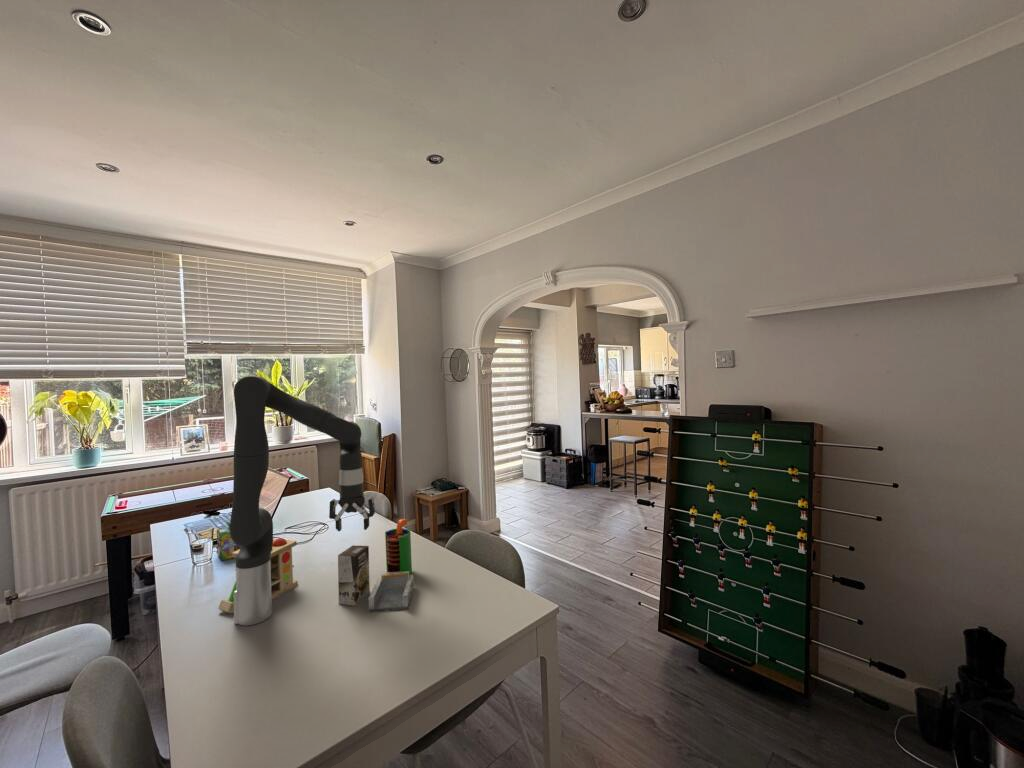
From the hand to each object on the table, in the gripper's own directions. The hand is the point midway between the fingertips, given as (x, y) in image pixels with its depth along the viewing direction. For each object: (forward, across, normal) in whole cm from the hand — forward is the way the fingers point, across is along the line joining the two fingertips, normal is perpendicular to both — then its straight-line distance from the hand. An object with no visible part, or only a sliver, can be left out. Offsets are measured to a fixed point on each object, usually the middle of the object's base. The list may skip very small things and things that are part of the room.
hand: (352, 529), depth 141 cm
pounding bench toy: (+23, -34, +5) cm, 42 cm away
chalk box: (+23, -63, +45) cm, 81 cm away
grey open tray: (+23, +13, -3) cm, 27 cm away
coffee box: (+23, 0, 0) cm, 23 cm away
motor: (+23, +12, +16) cm, 31 cm away
